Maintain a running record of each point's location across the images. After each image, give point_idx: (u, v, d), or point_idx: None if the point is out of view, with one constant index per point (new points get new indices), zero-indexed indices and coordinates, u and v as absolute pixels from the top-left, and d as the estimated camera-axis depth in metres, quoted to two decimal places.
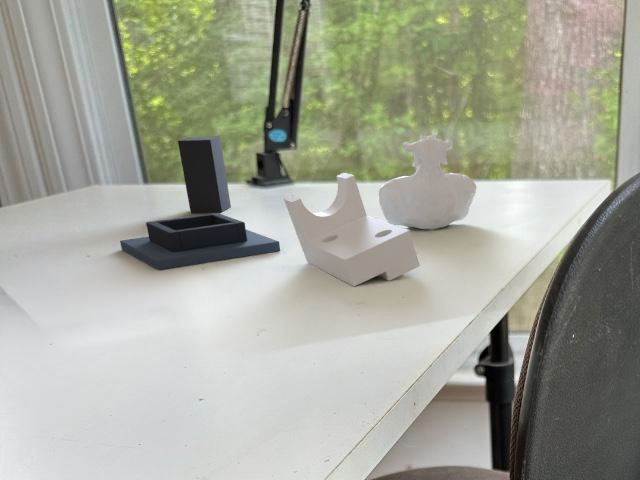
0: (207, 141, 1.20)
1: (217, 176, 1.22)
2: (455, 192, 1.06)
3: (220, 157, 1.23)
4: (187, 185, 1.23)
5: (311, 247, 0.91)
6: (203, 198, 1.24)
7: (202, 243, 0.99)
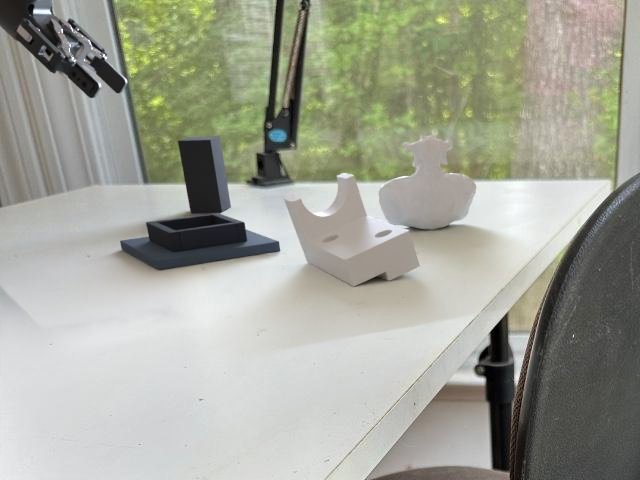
0: (207, 141, 1.20)
1: (217, 176, 1.22)
2: (455, 192, 1.06)
3: (220, 157, 1.23)
4: (187, 185, 1.23)
5: (311, 247, 0.91)
6: (203, 198, 1.24)
7: (202, 243, 0.99)
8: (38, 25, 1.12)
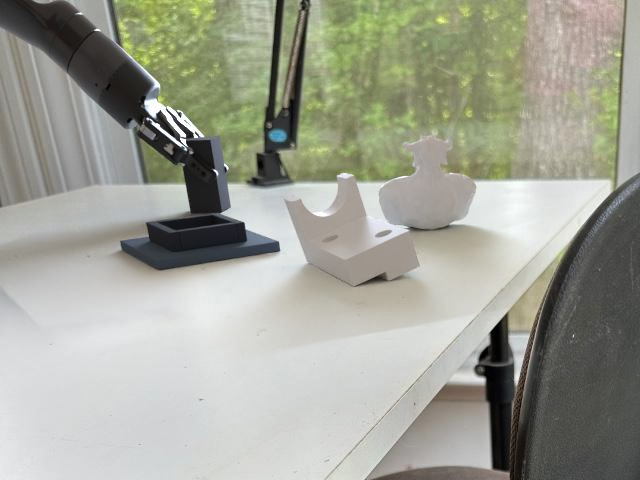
0: (207, 141, 1.20)
1: None
2: (455, 192, 1.06)
3: (220, 157, 1.23)
4: (187, 185, 1.23)
5: (311, 247, 0.91)
6: (203, 198, 1.24)
7: (202, 243, 0.99)
8: (152, 117, 1.17)
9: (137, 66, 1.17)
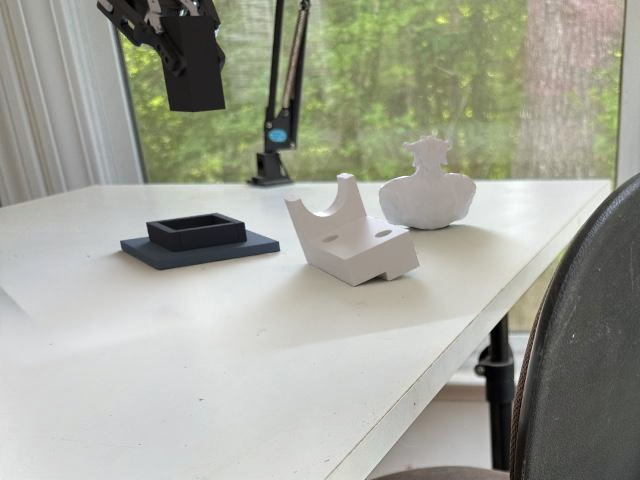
0: (175, 18, 0.95)
1: (188, 65, 0.97)
2: (455, 192, 1.06)
3: (205, 43, 0.98)
4: (164, 75, 1.00)
5: (311, 247, 0.91)
6: (177, 93, 1.00)
7: (202, 243, 0.99)
8: None
9: None
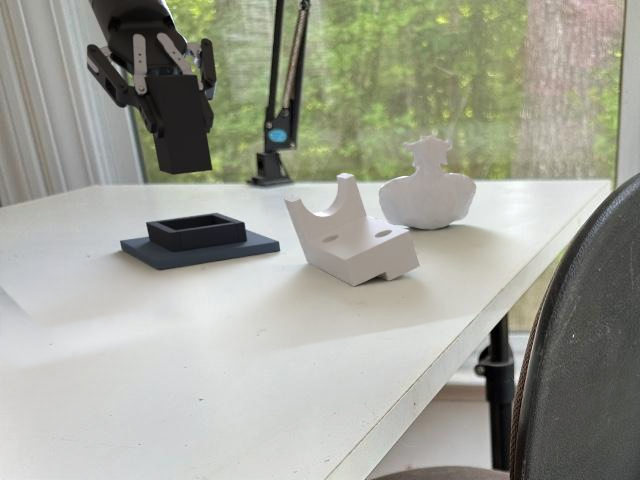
0: (153, 79, 0.91)
1: (167, 127, 0.94)
2: (455, 192, 1.06)
3: (188, 103, 0.94)
4: (153, 135, 0.97)
5: (311, 247, 0.91)
6: (162, 154, 0.97)
7: (202, 243, 0.99)
8: (113, 45, 0.94)
9: None
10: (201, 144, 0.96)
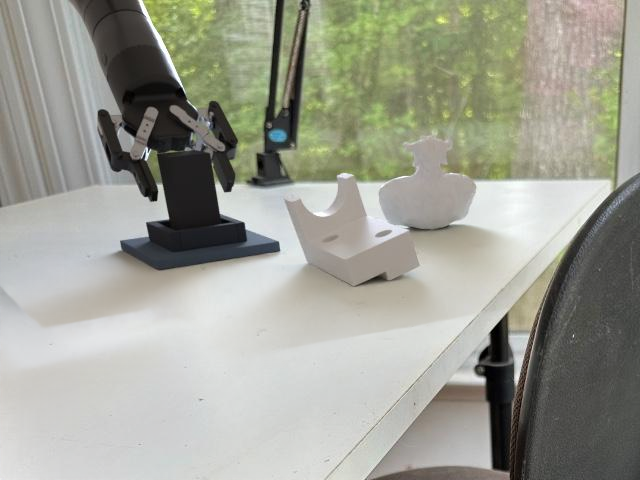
0: (168, 158, 0.95)
1: (181, 202, 0.98)
2: (455, 192, 1.06)
3: (201, 180, 0.98)
4: (167, 207, 1.01)
5: (311, 247, 0.91)
6: (176, 226, 1.00)
7: (202, 243, 0.99)
8: (126, 115, 0.97)
9: (140, 54, 0.97)
10: (213, 217, 1.00)
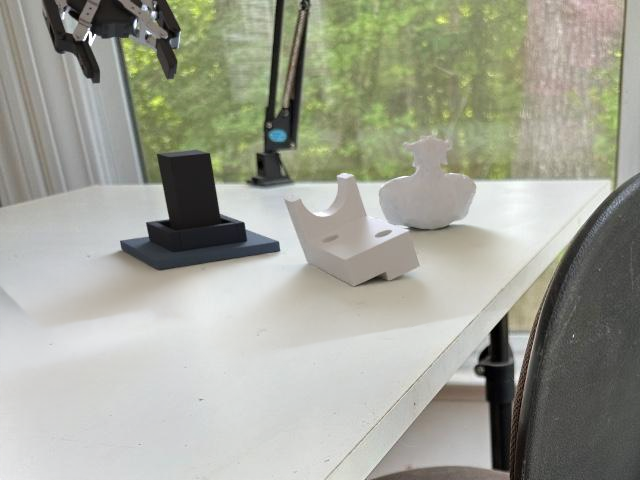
0: (168, 158, 0.95)
1: (181, 202, 0.98)
2: (455, 192, 1.06)
3: (201, 180, 0.98)
4: (167, 207, 1.01)
5: (311, 247, 0.91)
6: (176, 226, 1.00)
7: (202, 243, 0.99)
8: None
9: None
10: (213, 217, 1.00)
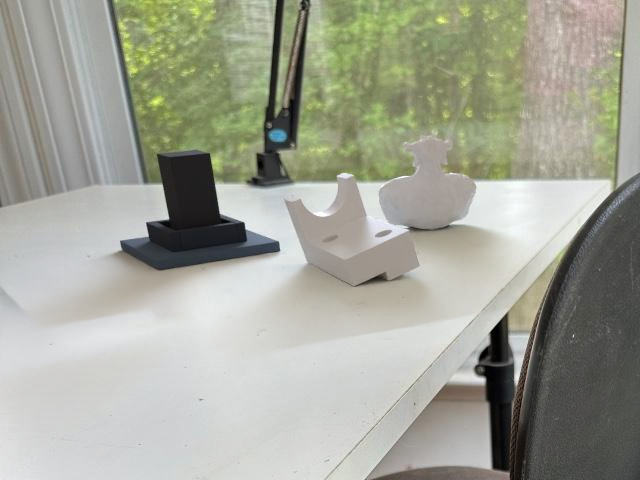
0: (168, 158, 0.95)
1: (181, 202, 0.98)
2: (455, 192, 1.06)
3: (201, 180, 0.98)
4: (167, 207, 1.01)
5: (311, 247, 0.91)
6: (176, 226, 1.00)
7: (202, 243, 0.99)
8: None
9: None
10: (213, 217, 1.00)
